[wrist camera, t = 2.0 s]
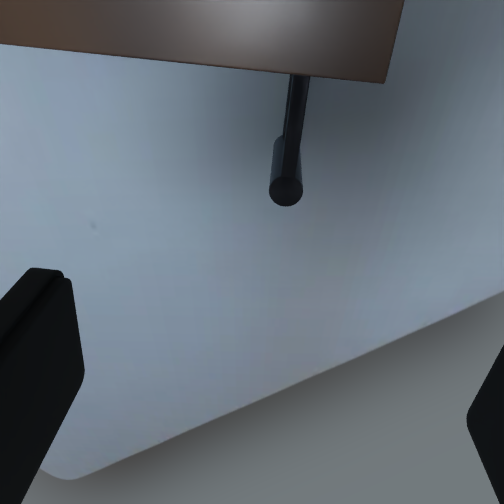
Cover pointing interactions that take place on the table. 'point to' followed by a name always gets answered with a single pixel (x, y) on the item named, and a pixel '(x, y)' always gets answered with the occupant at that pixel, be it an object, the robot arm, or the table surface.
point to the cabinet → (218, 32)
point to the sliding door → (290, 146)
